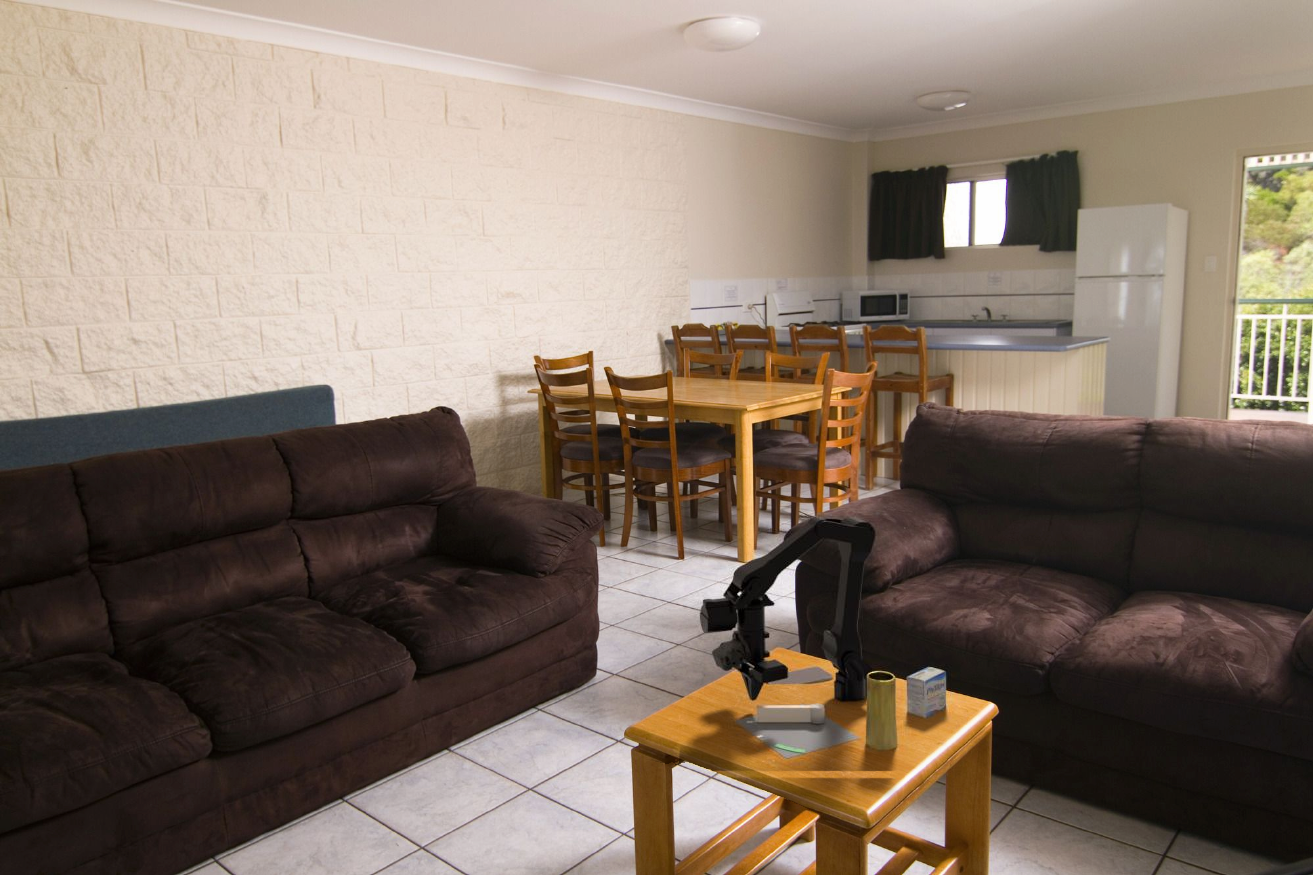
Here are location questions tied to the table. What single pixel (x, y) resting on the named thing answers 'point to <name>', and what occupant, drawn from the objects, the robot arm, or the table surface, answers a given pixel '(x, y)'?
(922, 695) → the medicine box
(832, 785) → the table surface
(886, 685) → the vase
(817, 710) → the lever
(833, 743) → the dial plate
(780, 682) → the smartphone
